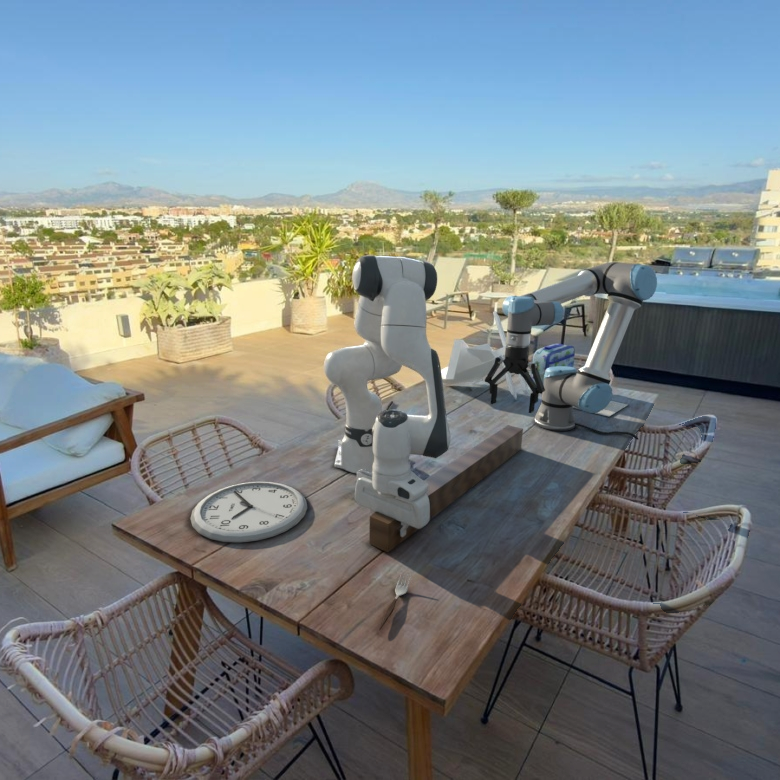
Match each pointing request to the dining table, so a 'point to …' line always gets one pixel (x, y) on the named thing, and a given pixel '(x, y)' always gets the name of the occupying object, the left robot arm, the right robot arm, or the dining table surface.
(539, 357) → the lunch box
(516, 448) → the beam
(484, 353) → the white plastic object
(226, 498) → the wall clock
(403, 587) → the fork
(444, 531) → the dining table surface
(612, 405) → the invitation card
